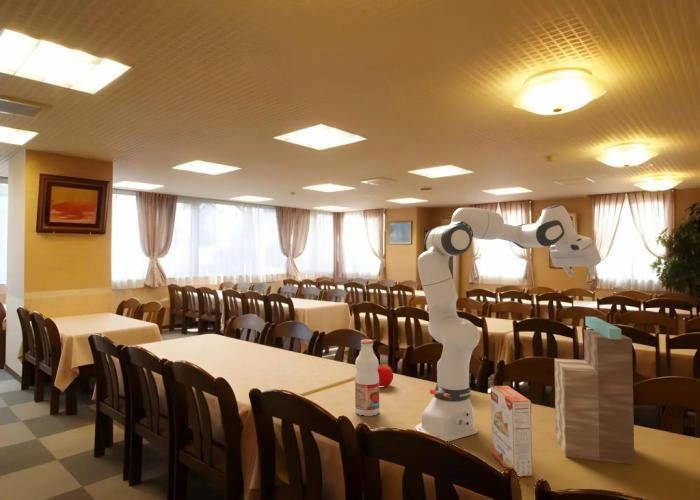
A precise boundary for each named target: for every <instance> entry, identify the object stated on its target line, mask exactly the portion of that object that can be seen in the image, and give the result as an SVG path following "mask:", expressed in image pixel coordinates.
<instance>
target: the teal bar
mask: <svg viewBox="0 0 700 500" xmlns="http://www.w3.org/2000/svg"><path fill="white" fill-rule="evenodd" d="M584 319H585V326H586V327H587V328H590V330H595V331H597V332H598V333H600V334H602V335H604V336H605V337H607V338H609V339H621V334H622V329H621V328H619V327H618V326H616V325H614V324H611V323H609V322H607V321H605V320H603V319H601V318H598V317H596V316H585V318H584Z"/></svg>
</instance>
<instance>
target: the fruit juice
mask: <svg viewBox="0 0 700 500" xmlns="http://www.w3.org/2000/svg"><path fill="white" fill-rule="evenodd" d="M360 345H361V346H360V352H359V354H358V356H357V357H356V359H355V364H354V365H355V369H356V372H355V375H354V377H355V378H354V385H355V386H354V389H355V390H354V396H355V397H354V399H355V400H354V401H355V403H354V405H355V406H354V407H355V414H357V415H358V414H359V416H361V415H364V416H363V417H373V415H374V416H376V415H378V414H379V412H380V387H379V374H378V371H377V370H378V365H379V359H378V358H377V356H376V353H375V351H374V349H373V345H374V340H373V339H370V338H365V339H361V340H360Z"/></svg>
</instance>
